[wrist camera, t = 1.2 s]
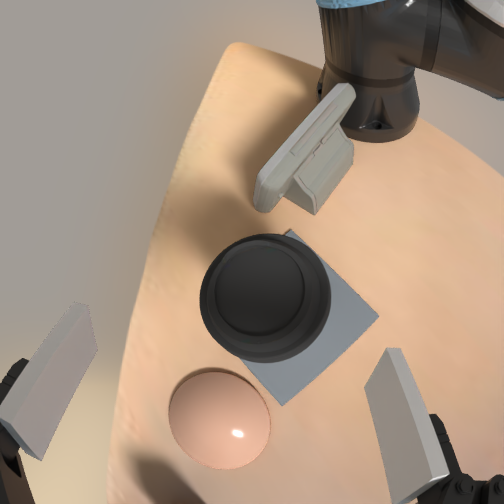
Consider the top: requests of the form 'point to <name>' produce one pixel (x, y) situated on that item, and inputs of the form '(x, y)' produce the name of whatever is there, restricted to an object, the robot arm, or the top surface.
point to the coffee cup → (265, 298)
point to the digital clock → (309, 157)
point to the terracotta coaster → (219, 420)
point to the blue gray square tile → (318, 341)
